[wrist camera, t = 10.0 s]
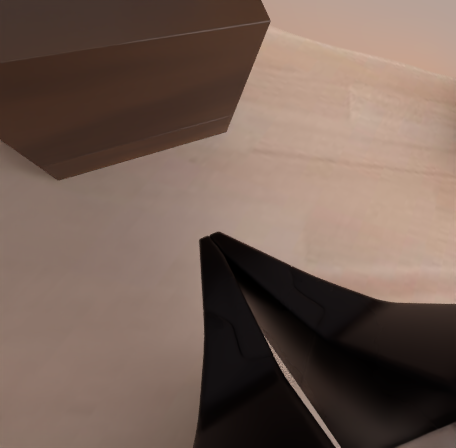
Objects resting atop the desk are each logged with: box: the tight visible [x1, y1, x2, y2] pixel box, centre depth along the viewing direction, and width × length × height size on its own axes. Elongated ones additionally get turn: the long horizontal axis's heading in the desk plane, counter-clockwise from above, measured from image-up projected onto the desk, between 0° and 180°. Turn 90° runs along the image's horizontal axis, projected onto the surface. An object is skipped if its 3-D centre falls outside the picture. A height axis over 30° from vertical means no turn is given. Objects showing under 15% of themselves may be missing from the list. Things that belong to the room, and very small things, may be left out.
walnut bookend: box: [0, 0, 270, 180], centre depth 14 cm, size 12×14×10 cm
